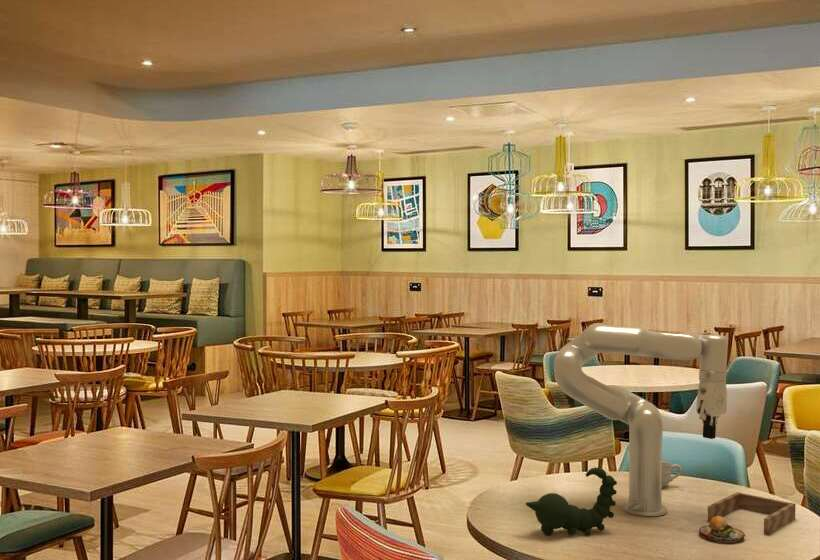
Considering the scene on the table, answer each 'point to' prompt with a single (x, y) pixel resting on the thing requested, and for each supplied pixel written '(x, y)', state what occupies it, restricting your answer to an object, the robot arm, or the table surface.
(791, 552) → the table surface
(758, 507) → the wooden u-shaped wall
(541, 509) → the toy figurine
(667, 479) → the teacup
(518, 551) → the table surface
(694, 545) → the table surface
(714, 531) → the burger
